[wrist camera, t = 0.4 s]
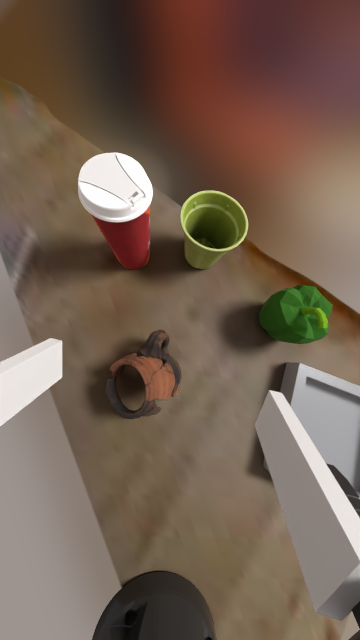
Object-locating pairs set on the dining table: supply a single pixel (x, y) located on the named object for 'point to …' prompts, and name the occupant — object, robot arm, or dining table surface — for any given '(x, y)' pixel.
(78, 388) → the dining table surface
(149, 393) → the pottery mug
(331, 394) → the gray square tray
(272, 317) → the bell pepper
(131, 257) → the paper cup
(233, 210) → the plant pot
